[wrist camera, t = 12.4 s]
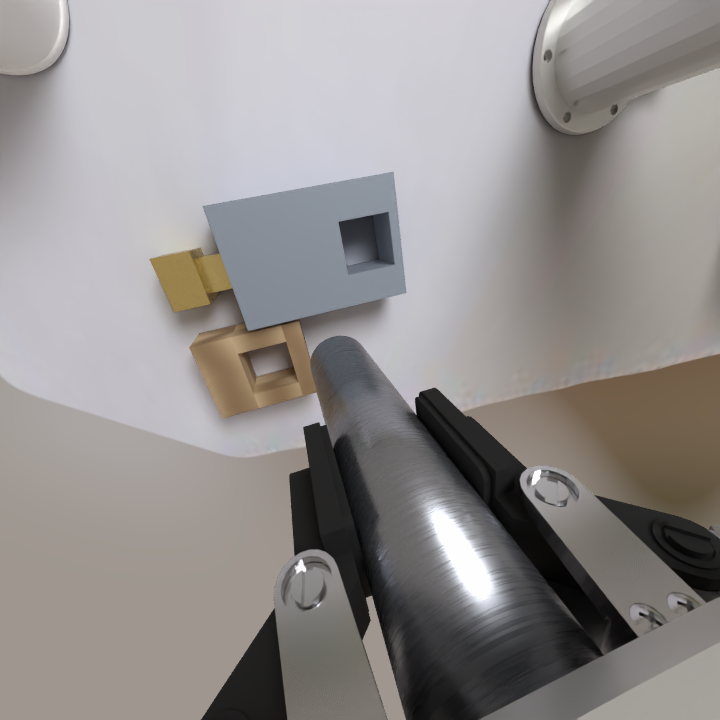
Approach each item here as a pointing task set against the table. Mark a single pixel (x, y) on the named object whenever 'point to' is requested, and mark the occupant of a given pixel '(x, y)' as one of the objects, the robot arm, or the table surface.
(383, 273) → the socket block
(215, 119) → the table surface
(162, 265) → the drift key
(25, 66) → the white nozzle bottle
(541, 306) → the table surface
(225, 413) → the tan slotted block
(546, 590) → the metal cylinder rod
